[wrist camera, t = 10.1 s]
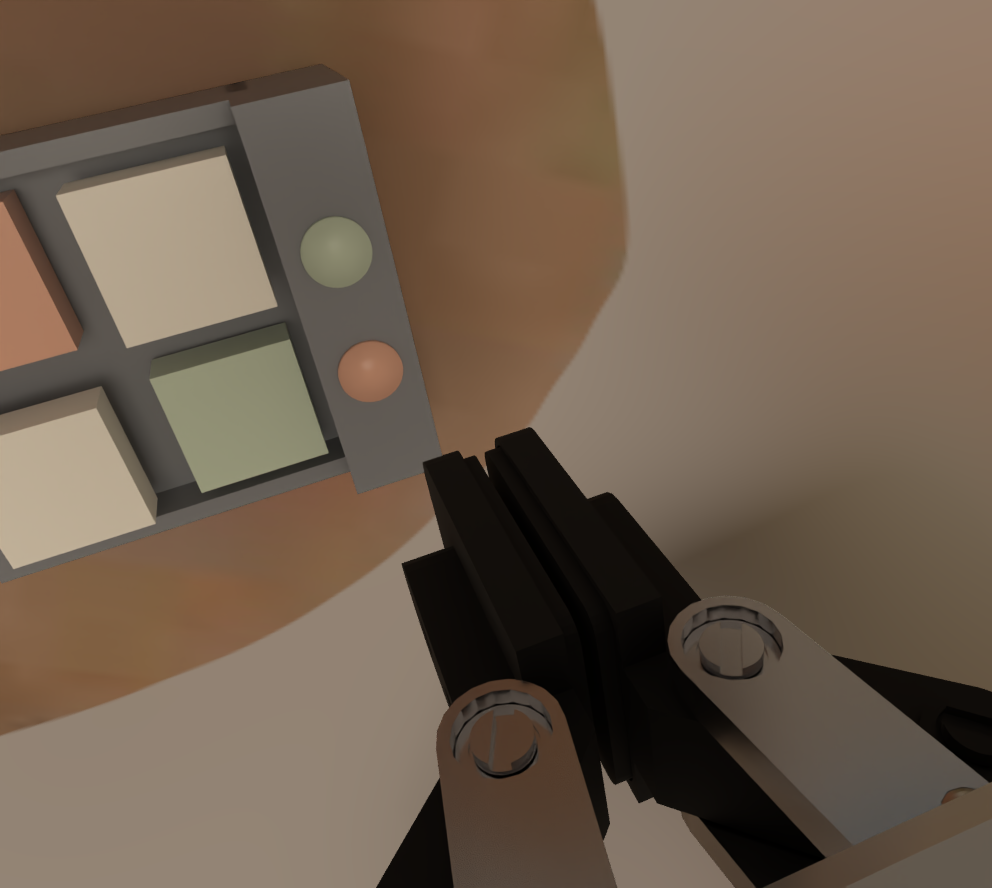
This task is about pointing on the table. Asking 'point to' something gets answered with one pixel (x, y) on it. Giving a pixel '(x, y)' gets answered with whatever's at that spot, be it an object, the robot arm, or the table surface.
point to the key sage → (239, 406)
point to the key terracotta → (30, 294)
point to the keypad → (291, 268)
